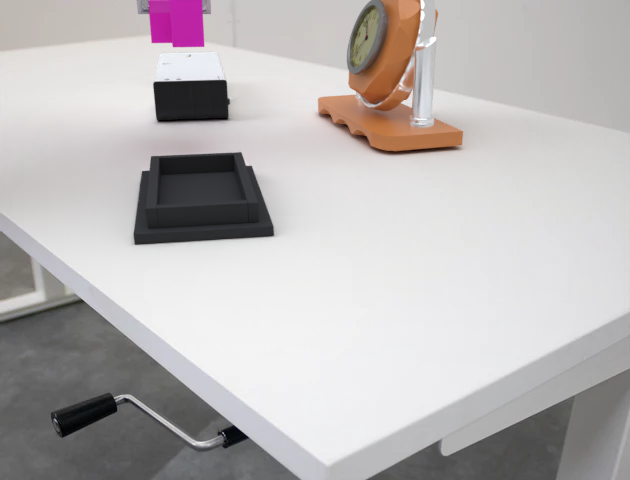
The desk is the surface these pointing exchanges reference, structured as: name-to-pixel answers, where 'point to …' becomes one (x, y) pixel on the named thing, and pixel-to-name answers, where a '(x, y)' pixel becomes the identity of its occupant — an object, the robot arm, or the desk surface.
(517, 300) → the desk surface
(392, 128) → the desk clock
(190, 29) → the toy block
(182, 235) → the socket pad
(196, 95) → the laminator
